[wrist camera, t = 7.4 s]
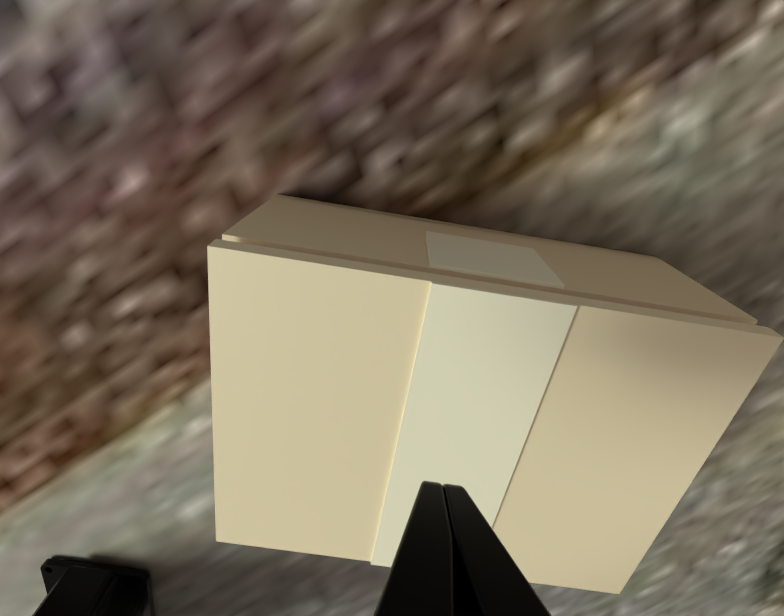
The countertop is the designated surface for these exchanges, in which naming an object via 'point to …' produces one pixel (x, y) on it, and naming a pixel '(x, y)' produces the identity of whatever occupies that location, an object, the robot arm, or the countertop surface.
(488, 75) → the countertop surface
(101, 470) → the countertop surface
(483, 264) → the cardboard box
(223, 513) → the lid
